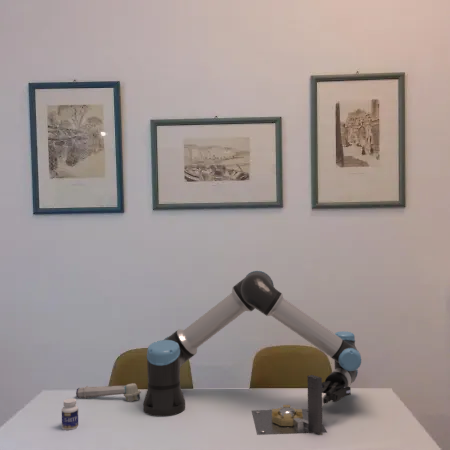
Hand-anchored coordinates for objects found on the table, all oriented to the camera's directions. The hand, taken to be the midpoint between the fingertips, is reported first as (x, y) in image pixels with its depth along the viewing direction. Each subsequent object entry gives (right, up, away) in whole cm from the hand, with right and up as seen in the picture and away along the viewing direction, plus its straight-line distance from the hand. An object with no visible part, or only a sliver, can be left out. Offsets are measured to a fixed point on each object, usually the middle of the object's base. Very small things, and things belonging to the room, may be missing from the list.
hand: (317, 403), depth 157 cm
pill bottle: (-81, -11, +9) cm, 82 cm away
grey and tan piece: (-6, -8, +5) cm, 11 cm away
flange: (-9, -10, +8) cm, 15 cm away
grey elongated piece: (-74, -11, +35) cm, 83 cm away
